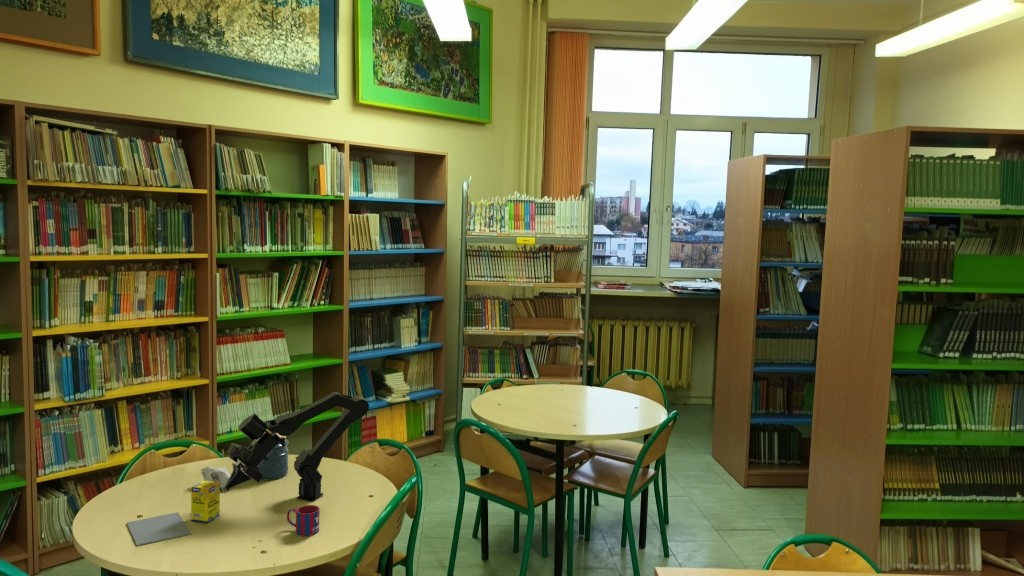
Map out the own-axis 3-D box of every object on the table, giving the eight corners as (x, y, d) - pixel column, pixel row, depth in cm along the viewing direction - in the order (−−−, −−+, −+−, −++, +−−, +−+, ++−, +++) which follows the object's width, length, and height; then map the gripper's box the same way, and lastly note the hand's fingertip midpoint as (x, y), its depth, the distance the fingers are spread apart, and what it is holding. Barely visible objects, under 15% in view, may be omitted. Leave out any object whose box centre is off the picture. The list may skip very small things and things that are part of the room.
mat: (177, 513, 211) (177, 512, 211) (191, 534, 197) (191, 533, 197) (126, 523, 202) (126, 522, 202) (136, 546, 188) (136, 544, 188)
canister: (279, 466, 257) (279, 420, 256) (294, 475, 247) (294, 428, 246) (245, 473, 248) (245, 426, 247) (259, 483, 238) (259, 434, 237)
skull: (226, 486, 227) (204, 460, 229) (213, 502, 230) (192, 475, 232) (243, 477, 235) (222, 451, 237) (230, 492, 238) (209, 467, 239)
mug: (310, 538, 197) (310, 515, 196) (281, 532, 200) (281, 509, 200) (323, 529, 203) (324, 507, 203) (295, 523, 206) (296, 501, 206)
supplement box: (207, 524, 204) (208, 488, 203) (190, 521, 205) (190, 486, 204) (220, 516, 210) (220, 482, 209) (203, 514, 211) (203, 480, 210)
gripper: (235, 427, 222) (199, 465, 216) (252, 441, 207) (214, 483, 201) (259, 446, 227) (225, 485, 221) (278, 462, 212) (241, 503, 206)
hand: (225, 488), depth 212 cm, fingers closed
